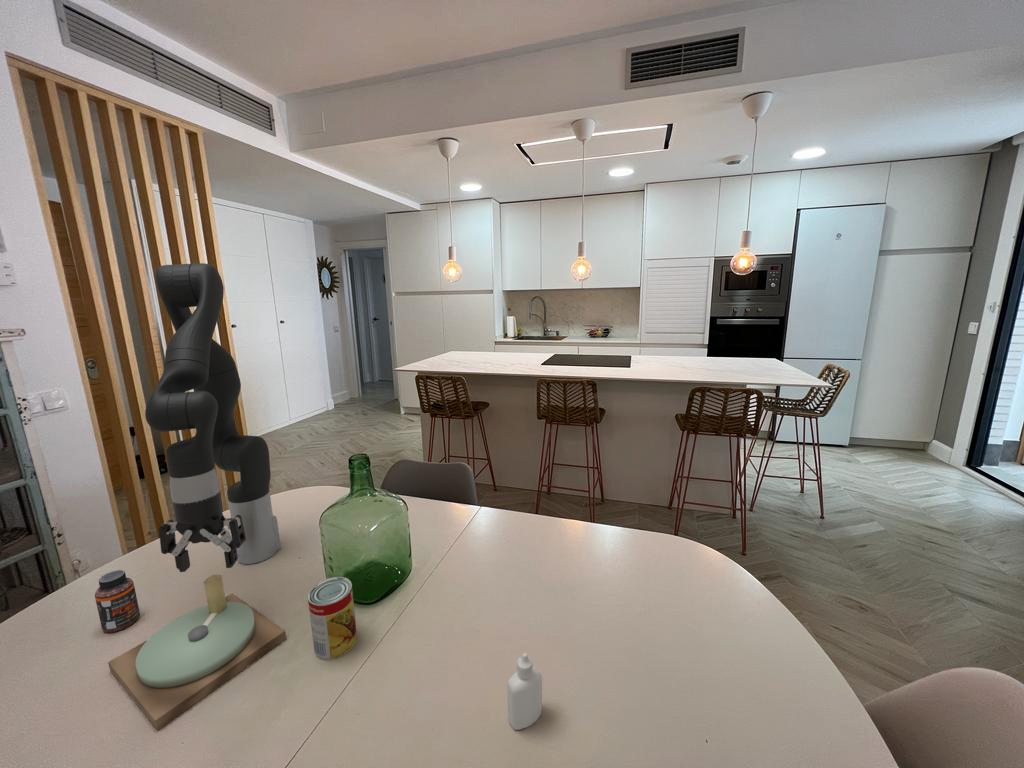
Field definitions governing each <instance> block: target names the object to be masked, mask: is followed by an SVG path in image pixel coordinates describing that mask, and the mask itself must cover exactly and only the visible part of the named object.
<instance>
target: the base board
mask: <svg viewBox="0 0 1024 768" xmlns="http://www.w3.org/2000/svg"><path fill="white" fill-rule="evenodd" d="M225 597H226V602H238V603H243V604H245V605H247V606H249V607H250V608H251V610H252V611H253V614H254V621H255V630H254V633H253V635H252V637H251V639H250V641H249V642H248V644H247V645H246V646H245V647H244V649H243V650H242V651H241V652H240V653H239V654H237V655H236V656H235V657H234V658H233V659H232V660H230V661H229V662H228V663H226V664H225V665H223V666H222V667H220V668H219V669H217V670H215V671H214V672H212V673H210V674H208V675H206V676H204V677H202V678H200V679H197V680H195V681H192V682H189V683H186V684H183V685H179V686H174V687H168V688H155V687H150V686H147V685H145V684H143V683H142V682H141V681H140V679H139V677H138V674H137V669H136V657H137V655H138V653H139V651H140V649H141V648H142V646H143V645H144V644H145V643H146V641H147V640H146V641H144V642H141V643H139V644H138V645H136V646H134V647H132V648H131V649H128V650H127V651H125V652H123V653H122V654H120V655H118V656H116V657H114V658H112V659H111V660H109V661H107V664H108V667H109V671H110V673H111V674H112V675H113V677H114V678H115V679H116V681H118V683H119V684H120V685H121V687H122V688H123V689H124V691H125V693H127V694H128V695H129V697H130V698H131V700H133V702H134V703H135V705H136V707H138V708H139V710H140V711H141V712H142V713H143V714H144V716H145V718H147V719H148V721H149V722H150V723H151V724H152V726H153V727H154V728H155V730H156V731H157V732H158V731H160V730H161V729H162V728H163V727H165V726H166V725H168V724H169V723H171V722H172V721H173V720H175V719H176V718H178V717H179V716H180V715H181V714H183V713H185V712H186V711H187V710H189V709H190V708H192V707H193V706H194V705H196V704H197V703H198V702H200V701H201V700H202V699H204V698H206V697H207V696H208V695H210V694H211V693H212V692H214V691H216V690H217V689H218V688H220V687H221V686H222V685H224V684H225V683H226V682H228V681H230V680H231V679H232V678H234V677H235V676H237V675H238V674H240V673H241V672H242V671H243V670H245V669H246V668H247V667H250V666H251V665H252V664H253V663H255V662H257V660H260V659H261V658H262V657H264V655H266V654H268V653H269V652H270V651H272V650H273V649H275V648H276V647H277V646H279V645H280V644H281V643H283V642H284V641H285V640H287V634H286V633H287V632H286V629H284V628H283V627H281V626H280V625H278V624H277V623H276V622H274V621H272V620H271V619H269V617H267V616H266V615H264V614H263V613H261V612H260V611H258V610H257V609H255V608H254V607H252V606H251V605H249V604H248V603H247V602H245V601H244V600H242V599H241V598H240V597H239V596H237V595H235V594H234V593H230V594H227V595H225Z"/></svg>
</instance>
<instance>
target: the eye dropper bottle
mask: <svg viewBox="0 0 1024 768" xmlns="http://www.w3.org/2000/svg"><path fill="white" fill-rule="evenodd" d="M542 677H543V676H542V674H541V672H540V671H539V669H538V668H537V667H535V666H533V660H532V658H531V657H529V656H528V654H527V653H526V652H523V653H522V656H520V657H519V658H518V659H517V661H516V671H515V672H514V673H513V674H512V676H510V678H509V680H508V681H507V689H506V690H507V691H506V692H507V721H508V722H509V724H510V726H511V727H512V729H513V730H515V731H519V730H520V731H521V730H523V728H524V729H526V728H528V727H530V726H532V725H533V724H534V723H536V721H538V720H539V718H540V716H541V715H542V711H543V679H542Z"/></svg>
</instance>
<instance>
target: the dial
mask: <svg viewBox="0 0 1024 768" xmlns="http://www.w3.org/2000/svg"><path fill="white" fill-rule="evenodd" d="M203 585H204V590H205V595H206V602H207V605H204V606H202V607H198V608H196V609H192V610H190V611H188V612H186V613H184V614H182V615H180V616H178V617H176V618H175V619H173V620H171V621H170V622H169V623H166V624H165V625H164V626H162V627H161V628H160V629H158V630H157V631H155V633H153V634H152V635H151V636H150V637H149V638H148V639H147V640H146V643H145V644H144V645H143V646H142V648H141V649H140V651H139V653H138V655H137V657H136V669H137V674H138V677H139V679H140V681H141V682H142V683H143V684H145V685H147V686H150V687H155V688H168V687H174V686H179V685H183V684H186V683H189V682H192V681H195V680H197V679H200V678H202V677H204V676H206V675H208V674H210V673H212V672H214V671H215V670H217V669H219V668H220V667H222V666H223V665H225V664H226V663H228V662H229V661H230V660H232V659H233V658H234V657H235V656H236V655H237V654H239V653H240V652H241V651H242V650H243V649H244V647H245V646H246V645H247V644H248V642H249V641H250V639H251V637H252V635H253V633H254V630H255V621H254V614H253V611H252V610H251V608H250V607H249V606H247V605H245V604H243V603H238V602H226V592H225V586H224V581H223V576H222V574H213V575H210V576H208V577H207V578H205V579H204V581H203Z"/></svg>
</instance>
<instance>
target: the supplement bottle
mask: <svg viewBox="0 0 1024 768" xmlns="http://www.w3.org/2000/svg"><path fill="white" fill-rule="evenodd" d="M98 586H99V587H98V588H97V589H96V590H95V593H94V598H95V605H96V607H97V613H98V617H99V622H100V626H101V629H102V631H103V632H105V633H114V632H118V631H122V630H124V629H126V628H127V627H130V626H131V625H133V624H134V623H136V621H137V620H139V617H141V616H140V607H139V602H138V598H137V592H136V588H135V583H134V580H133V579H132V578H131V577H127V576H126V571H125V570H123V569H118V570H114V571H110V572H108V573H107V572H106V573H105V574H103V575H102V576H101V577H99V578H98Z"/></svg>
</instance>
